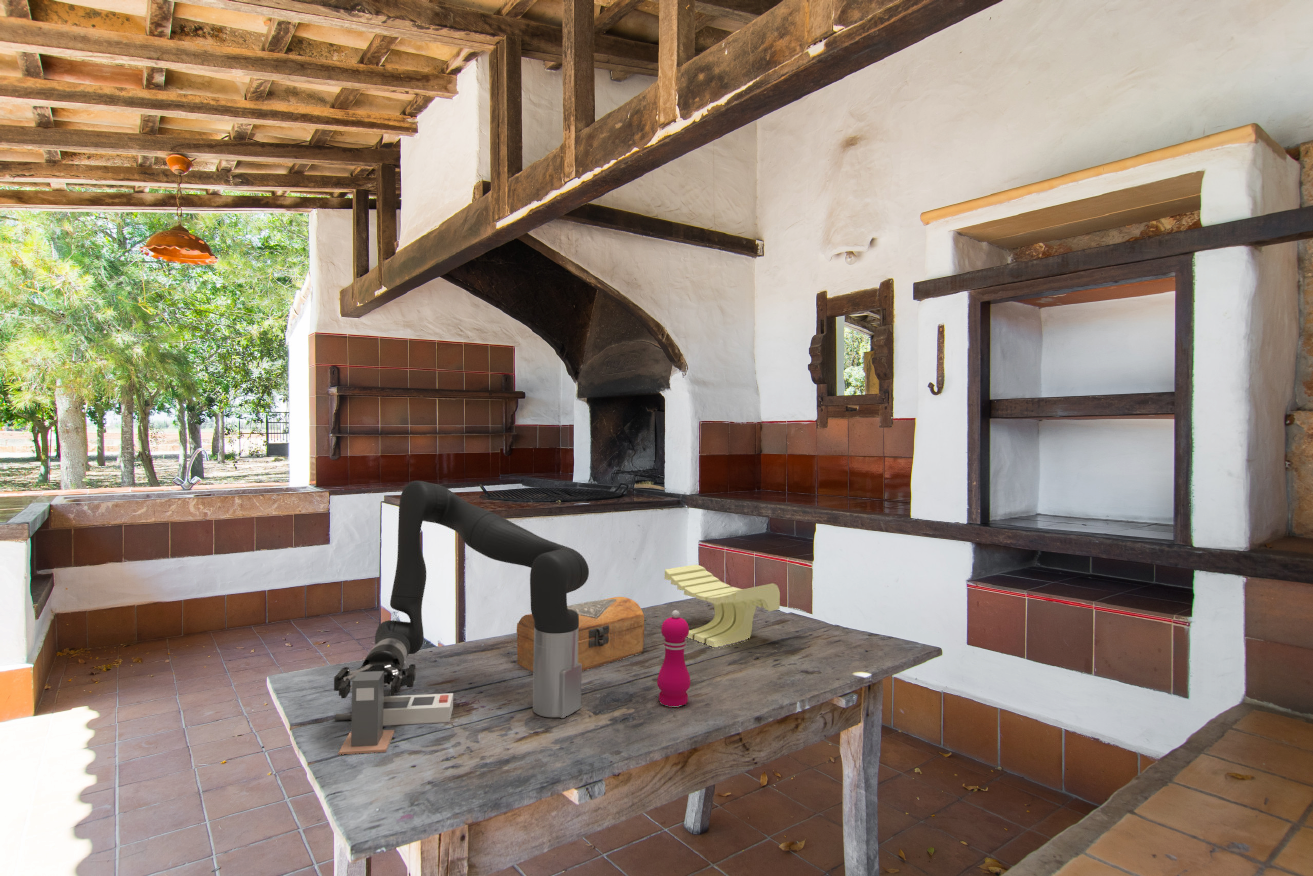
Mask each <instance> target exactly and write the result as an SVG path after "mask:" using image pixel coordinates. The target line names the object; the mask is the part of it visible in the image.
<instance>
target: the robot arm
mask: <svg viewBox="0 0 1313 876" xmlns="http://www.w3.org/2000/svg"><path fill="white" fill-rule="evenodd" d="M423 522H427V523H431V524H433V523H434V524H437V525H441V526H444V527H445V528H448V529H451V530H453V531H455V532H456V533H457V534H458V535H459V537H460V538H461V539H462V541H463V542H464V543H465V544H466V545H467V546H468V547H469V548H471V549H472V550H473V551H475V552H477V553H479V554H481V555H483V556H485V557H487V558H489V559H492V560H495V561H498V562H502V563H506V564H511V565H518V566H522V567H523V566H524V567H527V568H530V573H529V588H530V590H529V591H530V593H529V595H530V612H531V614H532V616H533V618H534V664H533V671H532V672H533V673H532V677H533V678H532V712H533V713H535V714H536V715H538V716H540V717H545V718H561V719H564V718H567V717H568V716H570V715H572V714H573V713H575V712H577V711H579V710H580V709H581V708H582V678H583V677H582V672H583V671H582V664H581V663H578V634H579V615H578V613H577V612H576V611H574V610H571V609H568V608H567V606H568V600H567V599H568V597H567V596H568V595H567V594H568V593H572V592H574V591H577V590H579V589H580V588H581V587H583V586H584V585H585V584H586V583H587V581H588V579H589V575H590V571H589V565H588V563H587V561H586V559H585V558H584V556H583V555H582V554H581V553H580V552H578V551H577V550H575V549H573V548H571V547H568V546H565V545H563V544H559V543H557V542H553V541H551V540H549V539H545V538H544V537H541V536H539V535H537V534H535V533H533V532H532V531H530V530H528V529H526V528H524V527H522V526H520V525H518V524H515V523H514V522H512V521H511V520H509V519H506V518H504V517H503V516H501V515H498V514H496V513H494V512H492V511H490V510H488V509H485V508H483V507H480V506H477V505H474V504H472V503H470V502H468V501H466V500H464V499H463V498H462V497H460V496H459V495H457V494H456V493H454V492H453V491H451V490H450V489H448V488H447V487H446V486H443V485H442V484H441V485H440V484H436V483H432V482H428V481H423V480H413V481H410V482H409V483H408V484H406V485H405V486H404V488H403V489H402V492H401V495H400V498H399V505H398V522H397V523H398V526H397V558H396V559H397V561H396V568H395V572H394V573H395V574H394V580H393V585H392V590H391V595H390V602H389V605H390V608H391V609H393V610H395V611H398V612H401V613H404V614H406V615H407V617H408V618H409V621H401V620H394V619H393V620H389V619H388V620H385V621H382V622H381V623H380V624H379V625H378V627H377V629H376V631H375V636H374V644H375V645H374V646H373V647H372V648H371V650H370V651H369V652H368V654H367V656H366V657H365V658H364V660H363V662H362V665H361V667H359V668H356V670H350V667H349V666H343V668H341V669H340V671H338V672H337V673H336V674H335V676H334V677H333V680H334V681H333V691H335V692H338V696H339V697H340V698H341V699H346V698H347V697H348V695H349V694H350V692H351V691H352V684H351V681H353V679H354V678H355V676H356V675H357V674H358V672H373V671H384V688H385V687H388V688H390V696H396V694H399V693H400V692H401V690H402V689H403V688H404V687H405V686H406V688H413V687H414V683H415V680H416V670H417V669H416V664H413V663H412V664H411V663H410V664H409V666H406V668H404V667H405V665H406V661H407V658H408V656H409V655H414V654H417V653H418V652H419V651H420V650H421V648H422V647H423V644H424V640H425V637H424V625H423V615H422V612H423V611H422V609H423V607H422V606H423V599H424V595H425V589H426V582H427V568H426V562H425V557H424V554H423V551H422V544H421V529H422V525H423ZM566 716H567V717H566Z"/></svg>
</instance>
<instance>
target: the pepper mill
mask: <svg viewBox="0 0 1313 876" xmlns="http://www.w3.org/2000/svg"><path fill="white" fill-rule="evenodd" d="M680 613H681V612H679V610H678V609H677V610H676V609H675V610H673V611H672V612H671V617H668V618H666V619H665V620H664V621H663V622H662V624H661V628H660V629H661V631H660V632H661V634H662V636H663V637H664V638H663V641H662V642H663V644H662V645H663V648H664V649H665V650H664V660H663V662H662V665H661V667H660V669H659V672H658V674H657V681H656V683H657V687H658V689H659V690H660V692H659V694H658V702H659V701H660V702H661V703H662V704H664V705H668V706H679V705H684V704H686V703H687V702H688V700H689V698H688V697H689V696H688V695H689V694H688V690H689V689H690V688H691V677H690V673H689V670H688V668H687V666H686V665H687V664H686V662H685V648H687V640H686V639H687V638H686V637H687V636H688V634H689V630H690V628H689V624H688V622H687V621H686V619H684V618H682V617H680V615H681V614H680ZM688 703H689V702H688ZM688 703H687V704H688ZM662 704H661V705H662ZM687 704H686V705H687Z"/></svg>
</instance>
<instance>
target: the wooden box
mask: <svg viewBox="0 0 1313 876" xmlns="http://www.w3.org/2000/svg"><path fill="white" fill-rule="evenodd" d="M567 608H568V609H571V610H574V611H576V612H577V613H578V615H579V634H578V663H581V664H582V672H584V671H583V670H586V671H588V670H587V669H589V670H591V669H590V668H592V669H595V668H594V667H596V668H598V667H597V666H599V667H601V666H600V665H602V666H605V665H604V664H606V665H608V664H607V663H609V664H611V663H610V662H612V663H614V662H613V661H616V662H618V661H617V660H619V661H621V660H620V659H623V658H626V657H628V656H631V655H635V654H638V653H642V652H643V651H644V644H645V614H644V611H643V610H642V608H641V606H640V605H639V603H637V602H636V601H635V600H634V599H630V598H628V597H625V596H616V597H615V596H614V597H609V598H605V599H604V598H603V599H598V600H594V601H586V602H581V603H576V604H575V603H574V604H571V605H567ZM516 634H517V640H516V642H517V643H516V647H517V648H516V653H517V654H516V656H517V657H516V659H517V665H518V666H521V667H523V668H525V669H527V670H529V671H531V672H533V664H534V618H533V616H532V613H529V614H524V615H522V616H521V618H520V620H519V621H518V622H517V623H516ZM643 653H644V652H643ZM643 653H642V654H643ZM626 659H627V658H626ZM623 660H624V659H623Z"/></svg>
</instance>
